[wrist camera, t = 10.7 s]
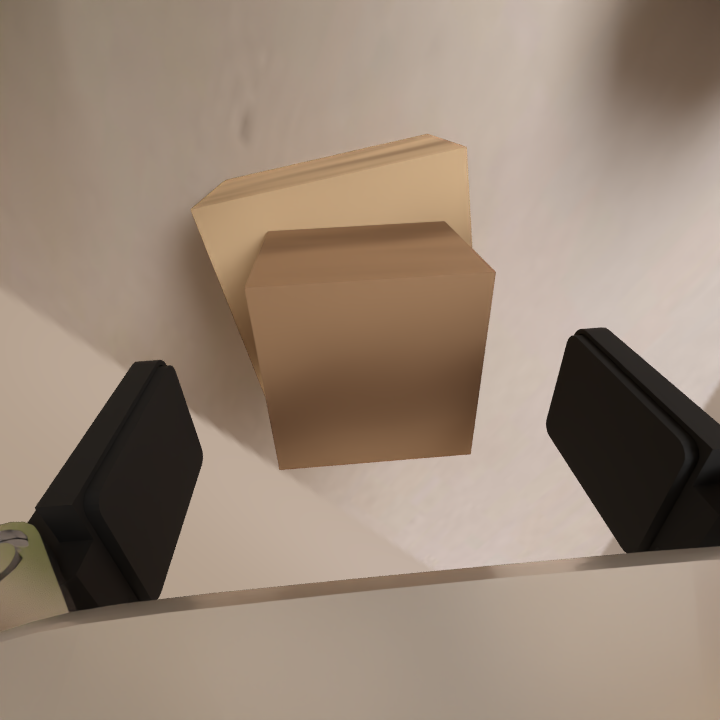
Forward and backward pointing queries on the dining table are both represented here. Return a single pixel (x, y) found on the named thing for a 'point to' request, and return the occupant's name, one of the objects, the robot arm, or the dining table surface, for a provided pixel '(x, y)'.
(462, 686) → the robot arm
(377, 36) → the dining table surface
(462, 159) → the oak base
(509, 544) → the dining table surface
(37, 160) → the dining table surface
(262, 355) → the walnut block
